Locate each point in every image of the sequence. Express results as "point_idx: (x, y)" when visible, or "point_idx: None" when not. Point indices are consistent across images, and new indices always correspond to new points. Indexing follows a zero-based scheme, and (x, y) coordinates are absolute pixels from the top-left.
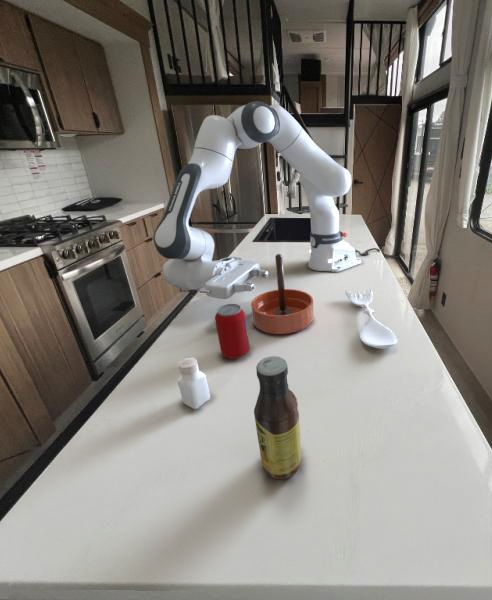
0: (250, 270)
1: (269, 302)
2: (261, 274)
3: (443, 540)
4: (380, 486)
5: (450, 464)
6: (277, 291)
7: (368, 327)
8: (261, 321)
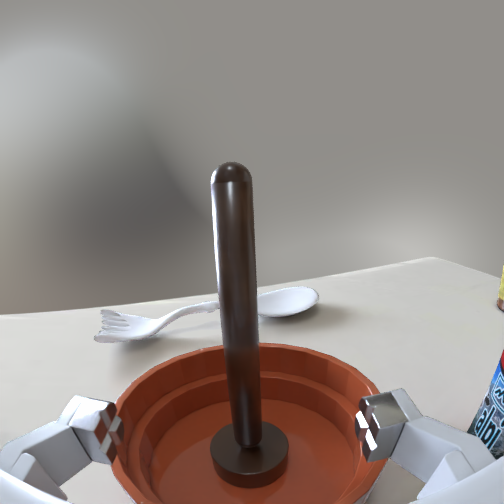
0: (59, 499)
1: None
2: (103, 439)
3: (455, 268)
4: (461, 281)
5: (414, 270)
6: (120, 461)
7: (259, 309)
8: None
